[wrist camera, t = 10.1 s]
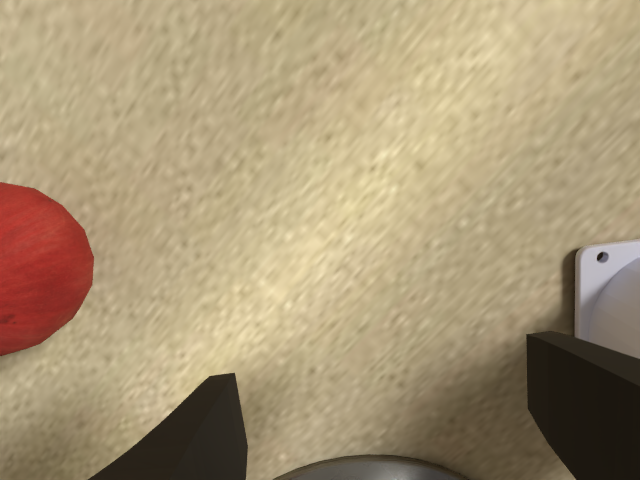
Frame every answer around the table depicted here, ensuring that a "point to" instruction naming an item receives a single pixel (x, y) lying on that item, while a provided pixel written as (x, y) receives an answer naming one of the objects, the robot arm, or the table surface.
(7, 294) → the onion
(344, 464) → the disc with square hole
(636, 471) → the robot arm
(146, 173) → the table surface
